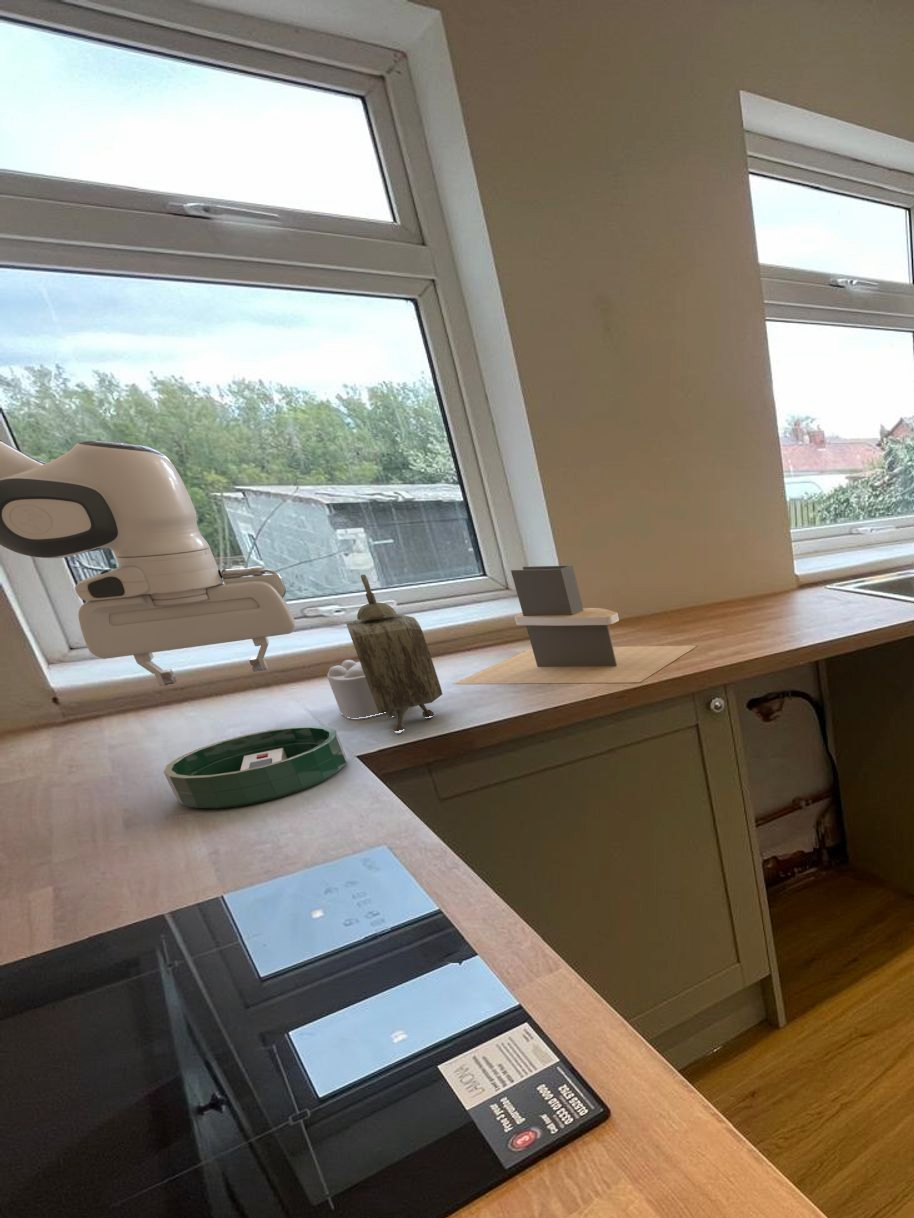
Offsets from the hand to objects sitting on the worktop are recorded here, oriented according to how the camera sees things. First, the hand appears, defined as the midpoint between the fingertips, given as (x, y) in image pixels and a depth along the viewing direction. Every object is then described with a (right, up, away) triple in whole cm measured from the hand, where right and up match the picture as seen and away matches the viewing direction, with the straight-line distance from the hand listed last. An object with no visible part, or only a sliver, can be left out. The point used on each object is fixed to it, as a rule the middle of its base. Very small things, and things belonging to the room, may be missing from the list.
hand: (216, 677), depth 110 cm
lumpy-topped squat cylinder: (-6, -2, +36) cm, 37 cm away
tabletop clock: (+7, -5, +28) cm, 29 cm away
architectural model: (+20, +8, +57) cm, 61 cm away
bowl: (+1, -15, +7) cm, 16 cm away
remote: (+1, -14, +6) cm, 15 cm away
